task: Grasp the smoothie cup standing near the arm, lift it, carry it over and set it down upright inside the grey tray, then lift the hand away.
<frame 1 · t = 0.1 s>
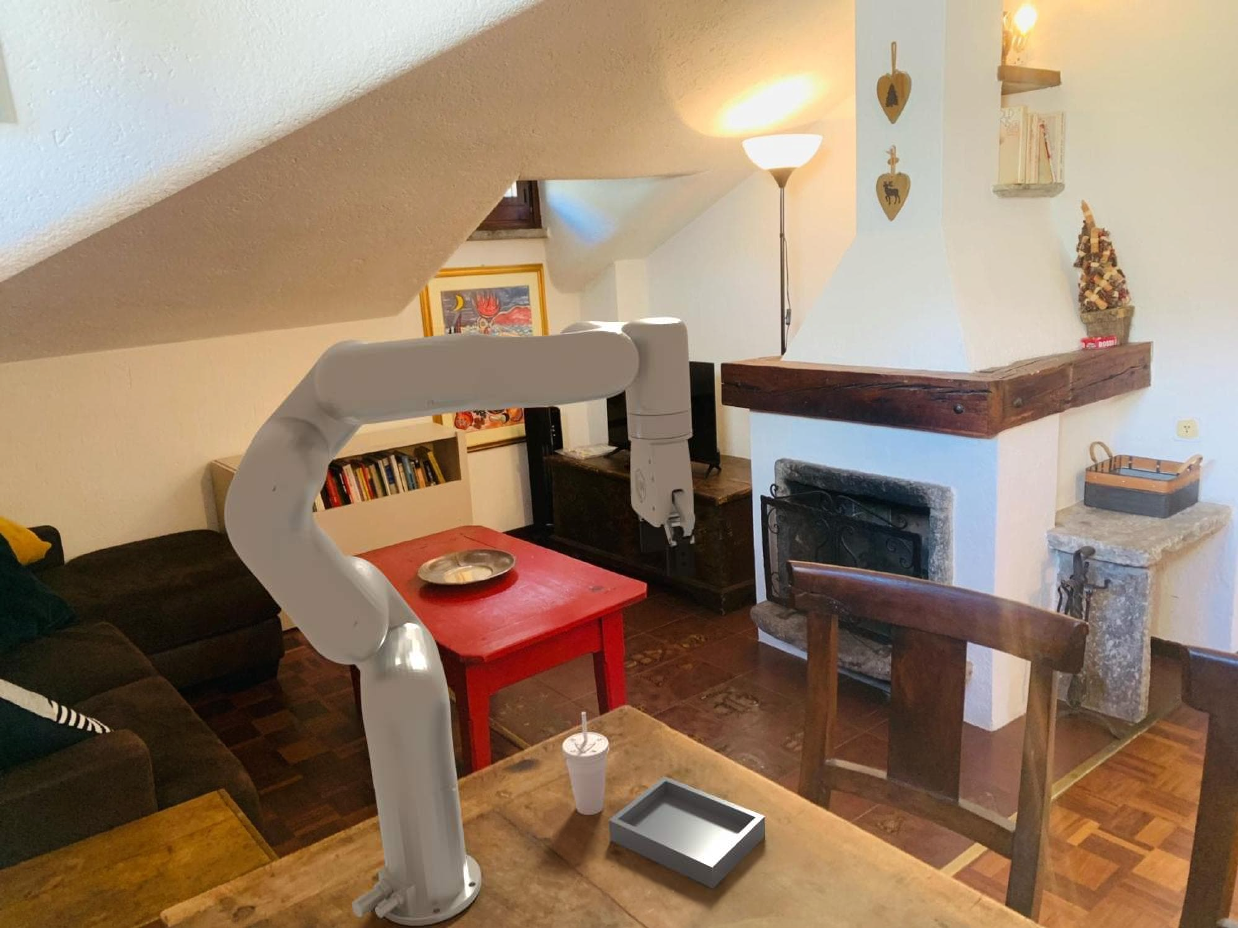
hand: (667, 562, 113), 37 cm above the table, tool pointing down, fingers open, 9 cm apart
grey tray: (687, 838, 120), on the table
smoothie: (590, 807, 128), on the table
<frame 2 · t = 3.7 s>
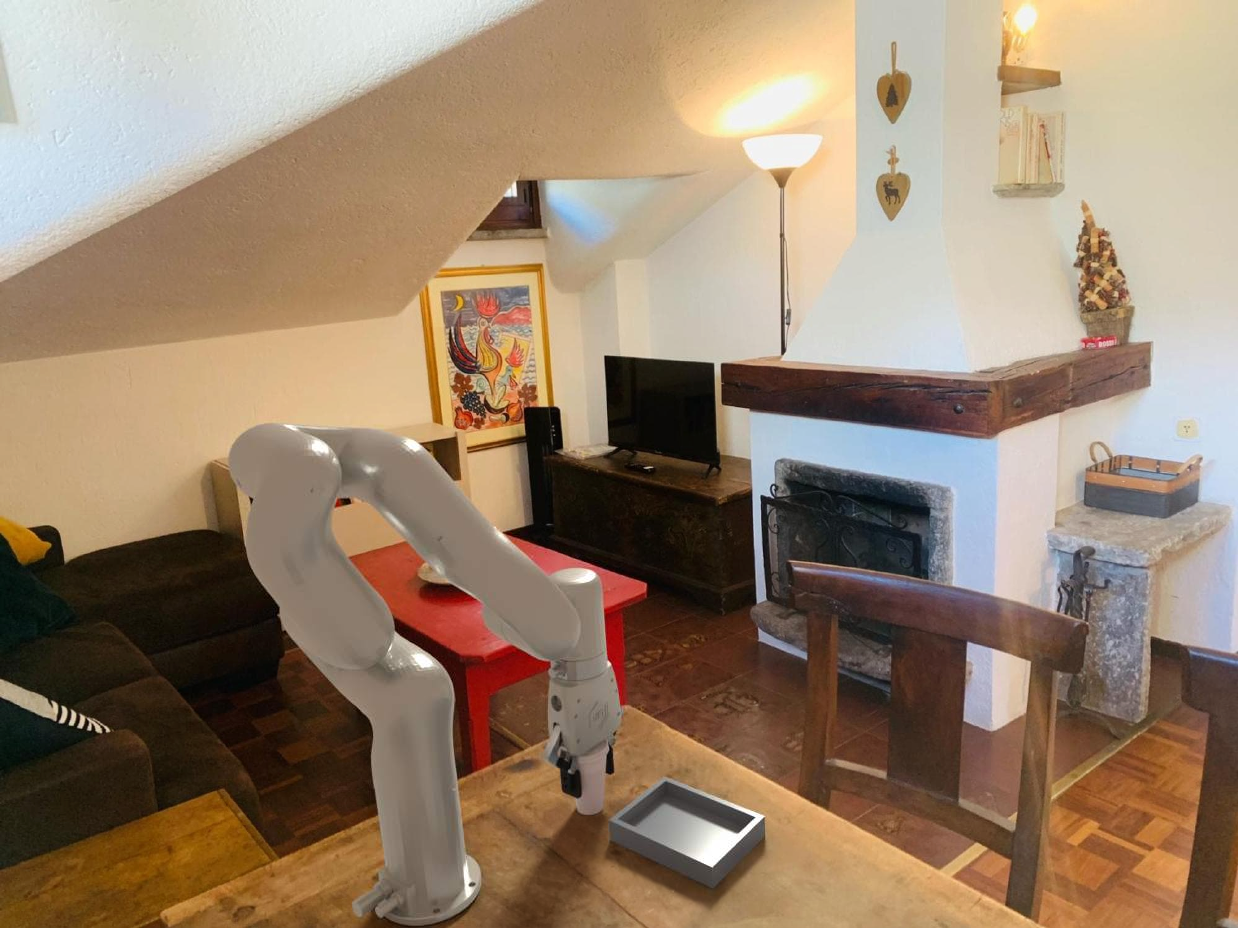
hand: (588, 781, 127), 4 cm above the table, tool pointing down, fingers closed on smoothie, 6 cm apart
smoothie: (590, 807, 128), on the table, touching gripper
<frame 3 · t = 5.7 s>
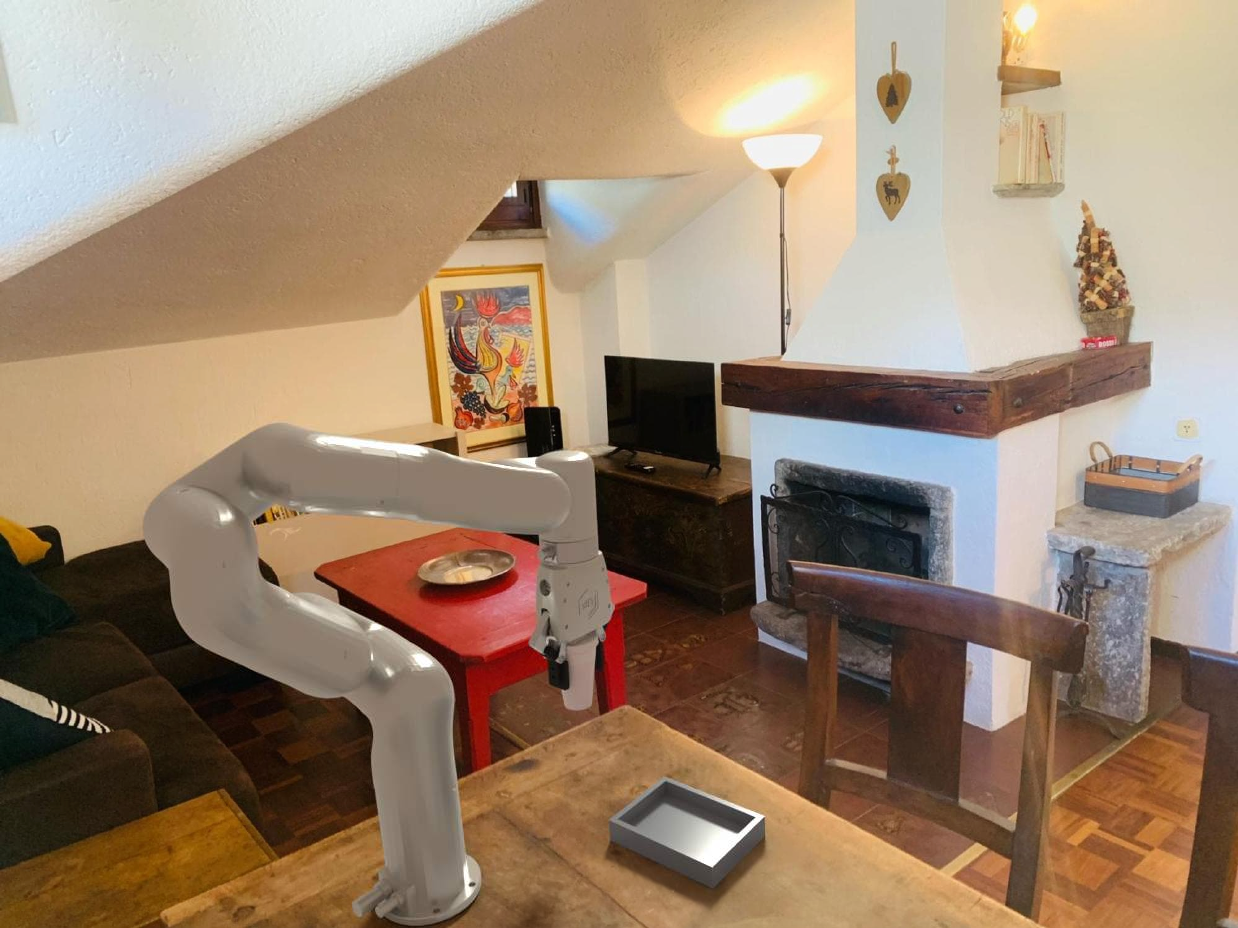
hand: (576, 676, 123), 20 cm above the table, tool pointing down, fingers closed on smoothie, 6 cm apart
smoothie: (578, 704, 124), point 16 cm above the table, touching gripper
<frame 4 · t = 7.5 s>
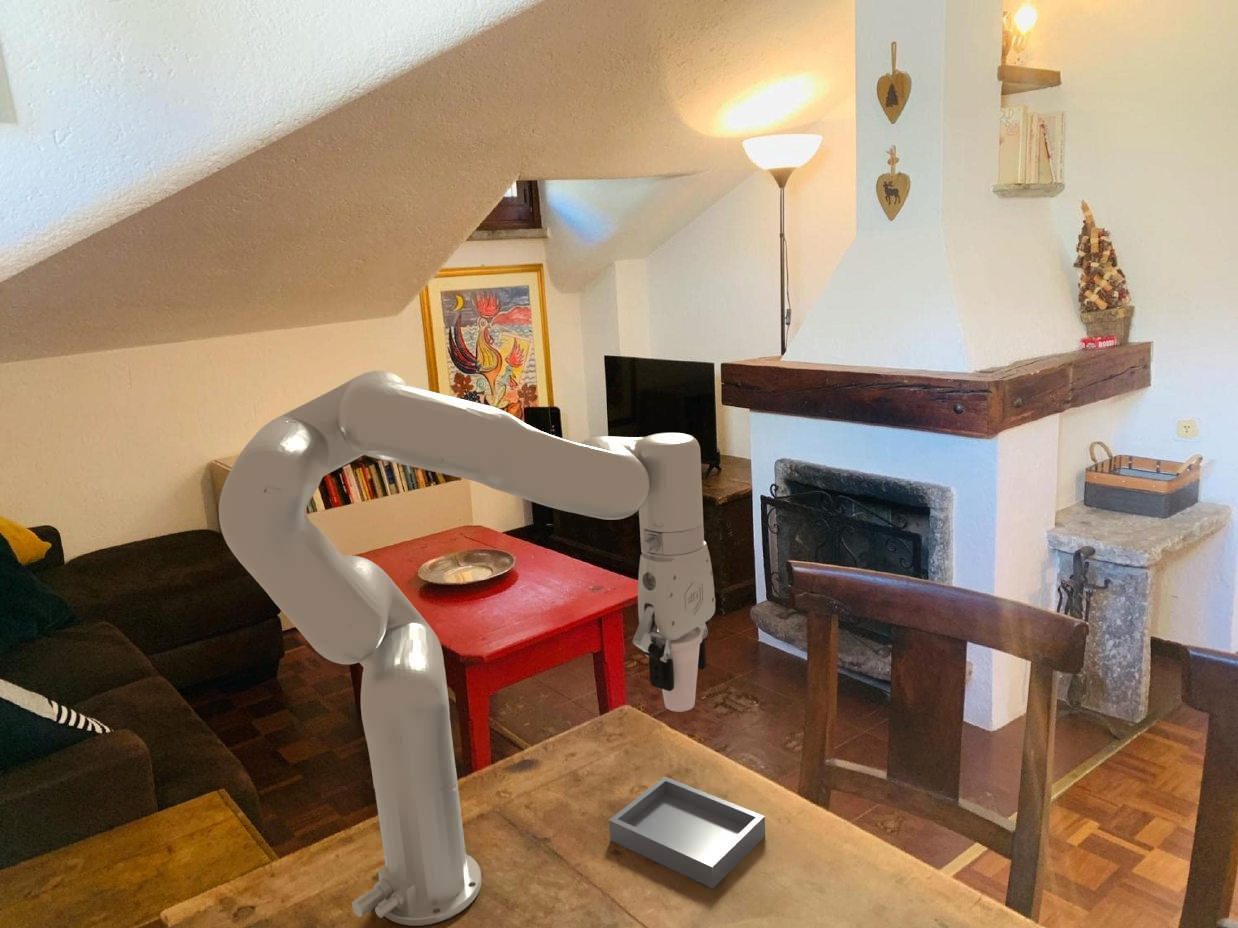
hand: (678, 675, 114), 23 cm above the table, tool pointing down, fingers closed on smoothie, 6 cm apart
smoothie: (679, 705, 115), point 19 cm above the table, touching gripper
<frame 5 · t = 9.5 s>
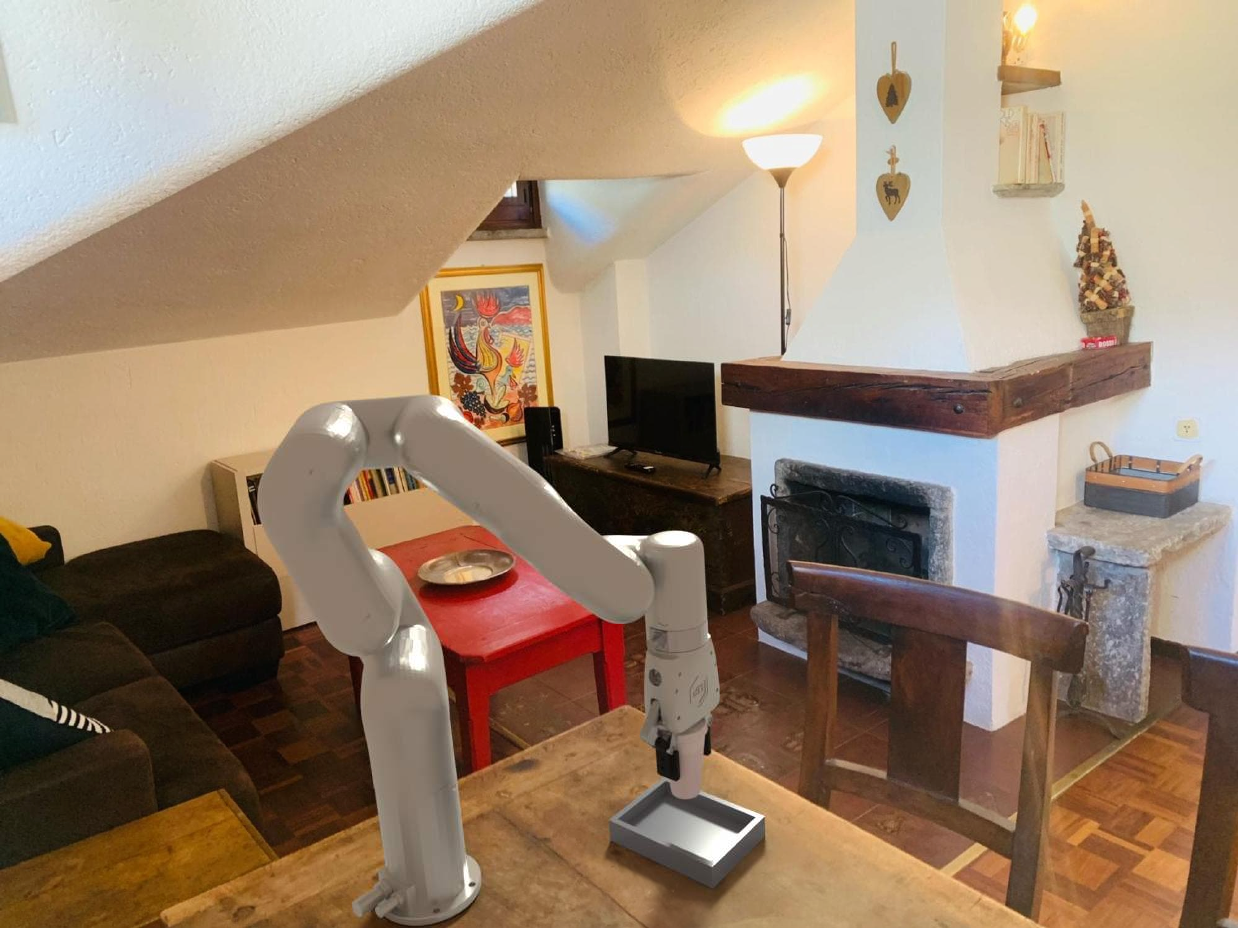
hand: (684, 762, 117), 11 cm above the table, tool pointing down, fingers closed on smoothie, 6 cm apart
smoothie: (686, 791, 118), point 7 cm above the table, touching gripper
when the fingers open (6 cm above the table, at t = 11.4 s): smoothie drops 1 cm, resting on grey tray.
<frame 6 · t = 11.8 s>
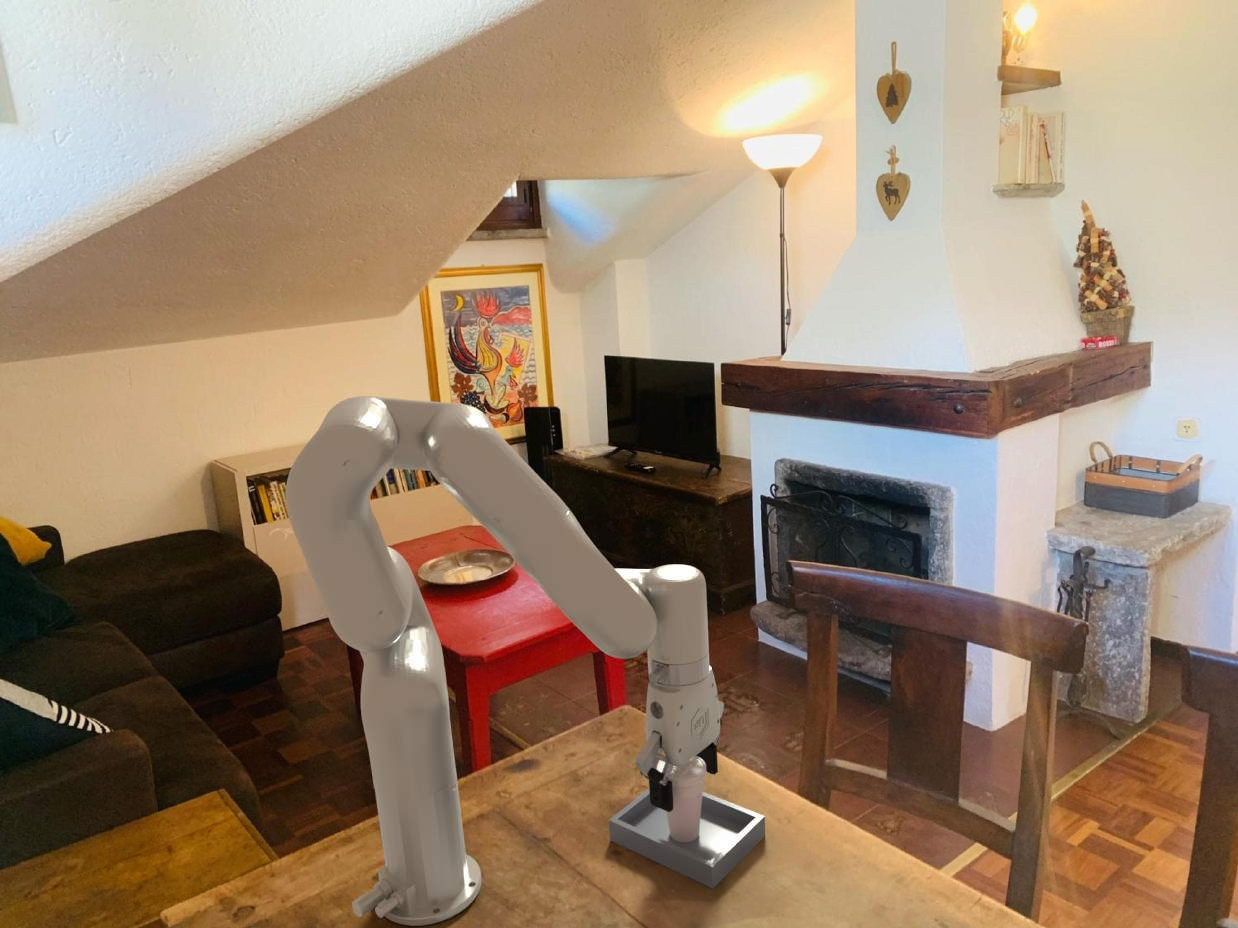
hand: (684, 788, 118), 7 cm above the table, tool pointing down, fingers open, 9 cm apart
smoothie: (684, 834, 119), point 1 cm above the table, touching grey tray
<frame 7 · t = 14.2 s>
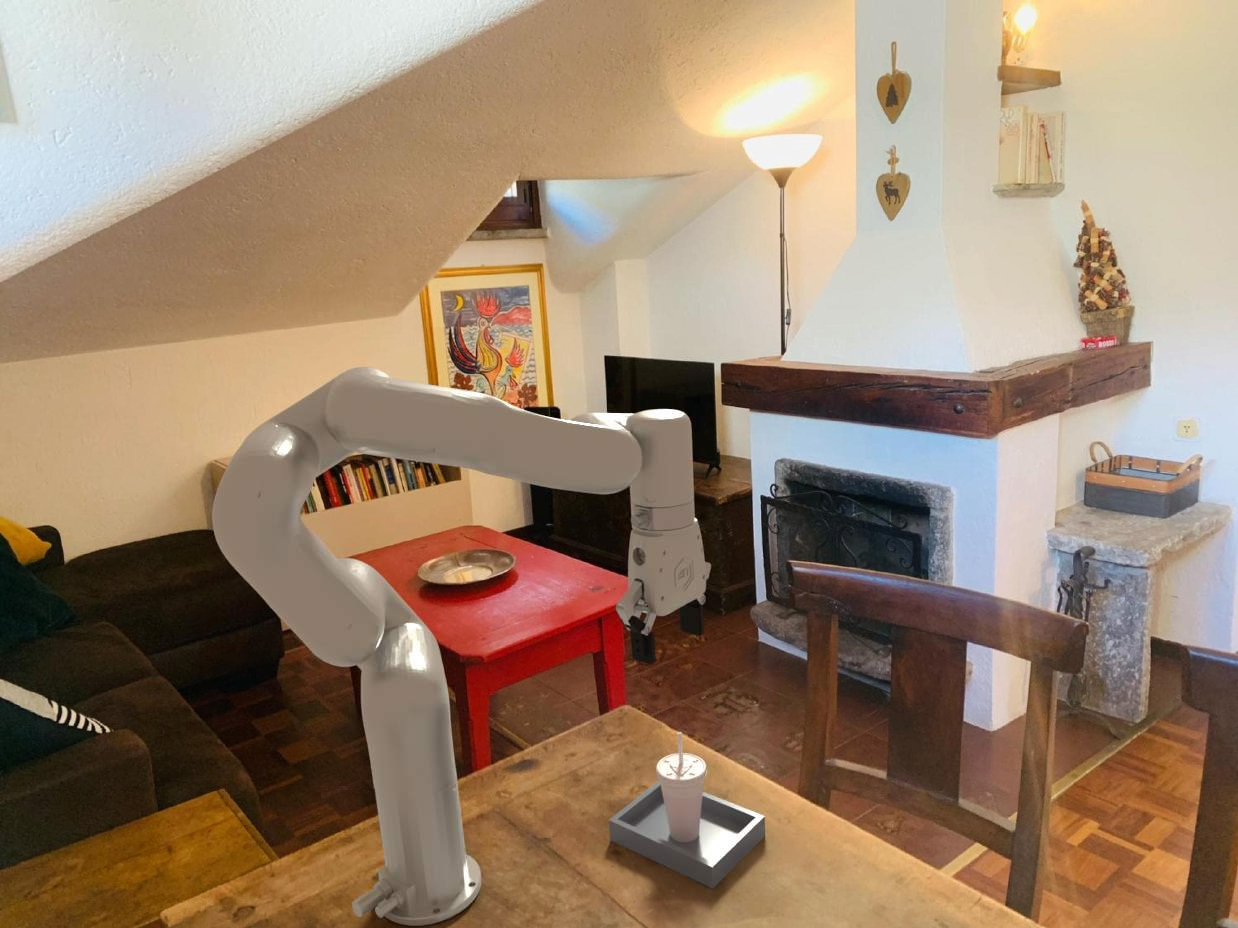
hand: (668, 646, 115), 26 cm above the table, tool pointing down, fingers open, 9 cm apart
nothing on the table moved.
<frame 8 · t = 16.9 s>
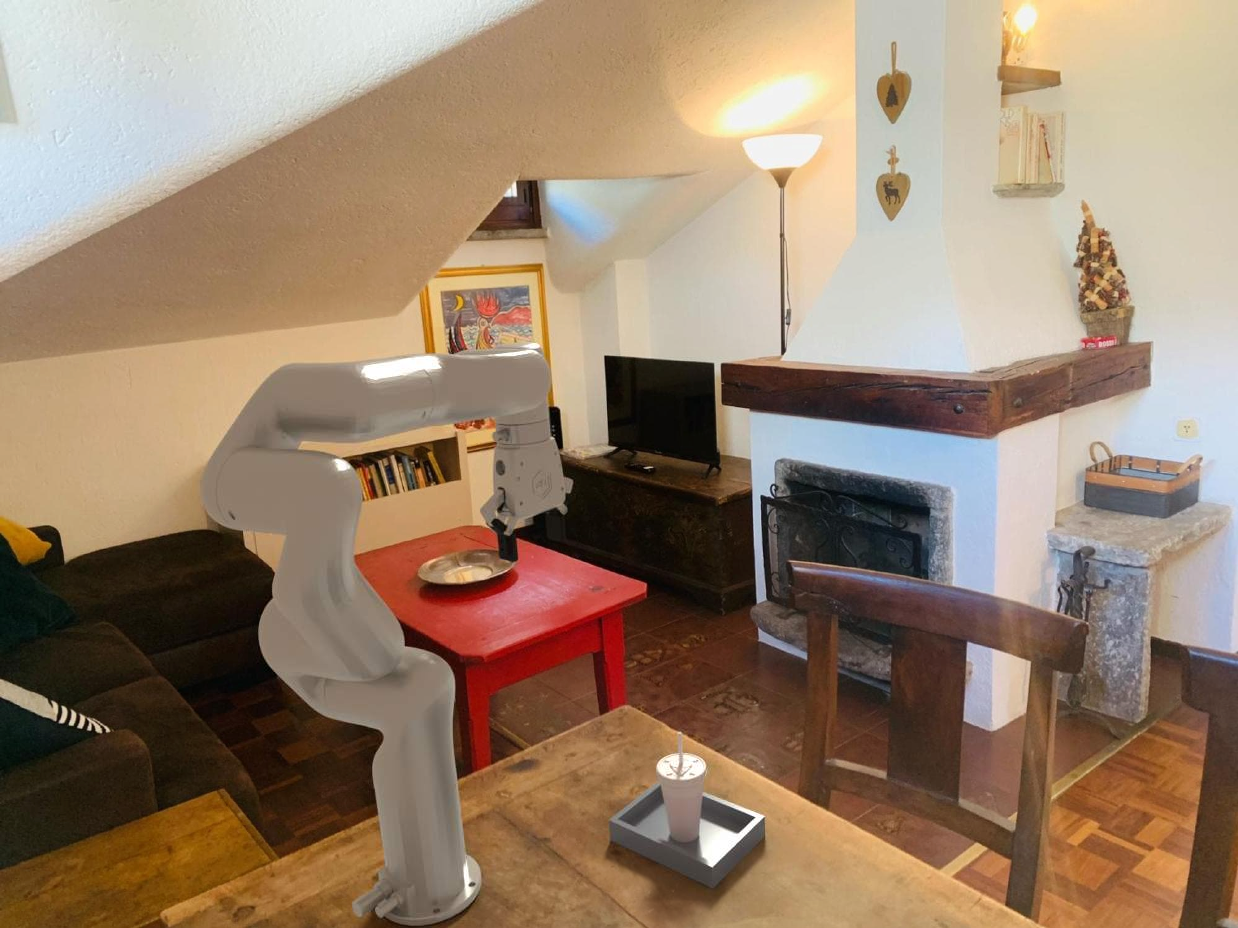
hand: (533, 549, 133), 33 cm above the table, tool pointing down, fingers open, 9 cm apart
nothing on the table moved.
at the end: smoothie inside the target area on the grey tray (0.4 cm from its centre), point 0.8 cm above the grey tray's base; smoothie tilted 0°; the gripper is holding nothing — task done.
